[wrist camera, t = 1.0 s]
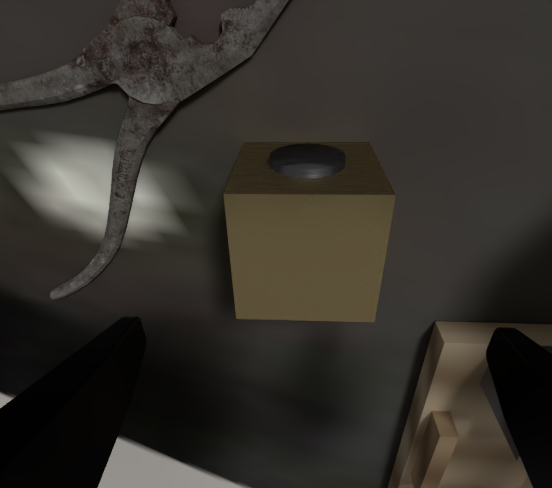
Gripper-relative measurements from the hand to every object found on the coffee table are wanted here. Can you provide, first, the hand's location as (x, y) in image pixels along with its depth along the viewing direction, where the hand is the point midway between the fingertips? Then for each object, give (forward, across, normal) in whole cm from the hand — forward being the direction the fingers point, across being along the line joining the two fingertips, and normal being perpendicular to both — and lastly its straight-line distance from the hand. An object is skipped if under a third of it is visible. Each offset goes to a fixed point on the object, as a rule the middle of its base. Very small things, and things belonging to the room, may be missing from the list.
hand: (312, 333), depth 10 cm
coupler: (+8, 0, 0) cm, 8 cm away
